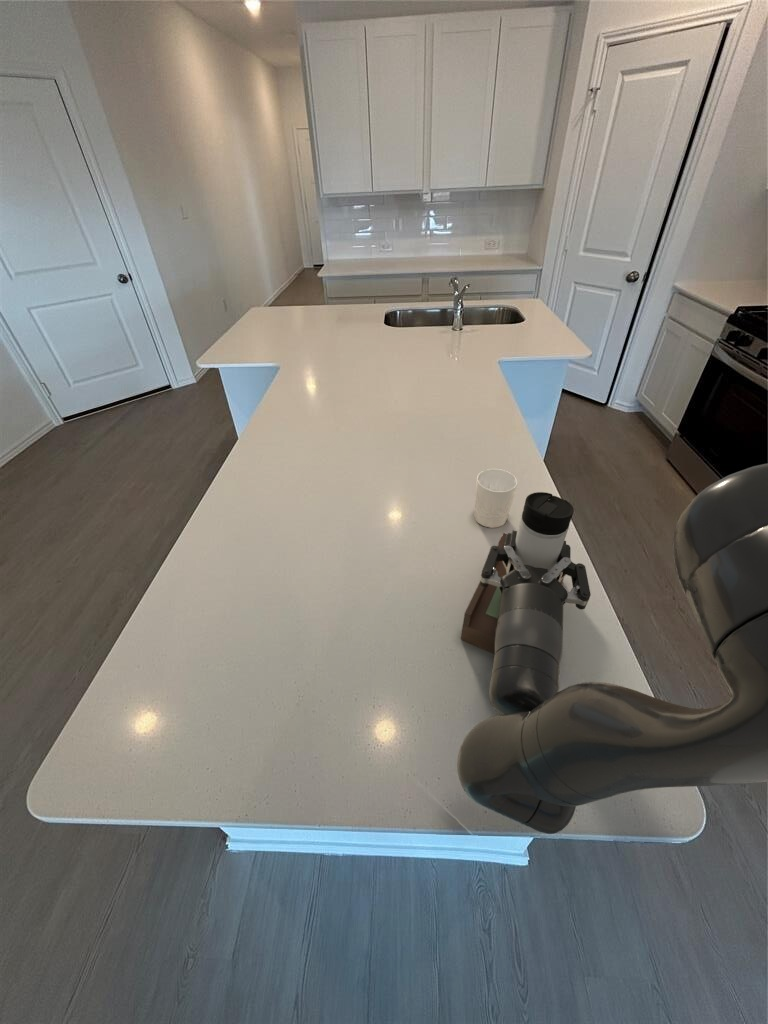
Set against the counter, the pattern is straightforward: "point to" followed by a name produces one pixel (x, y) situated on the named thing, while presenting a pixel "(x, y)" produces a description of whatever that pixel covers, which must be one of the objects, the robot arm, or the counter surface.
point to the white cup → (494, 496)
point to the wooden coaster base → (484, 611)
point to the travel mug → (542, 529)
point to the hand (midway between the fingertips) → (537, 539)
